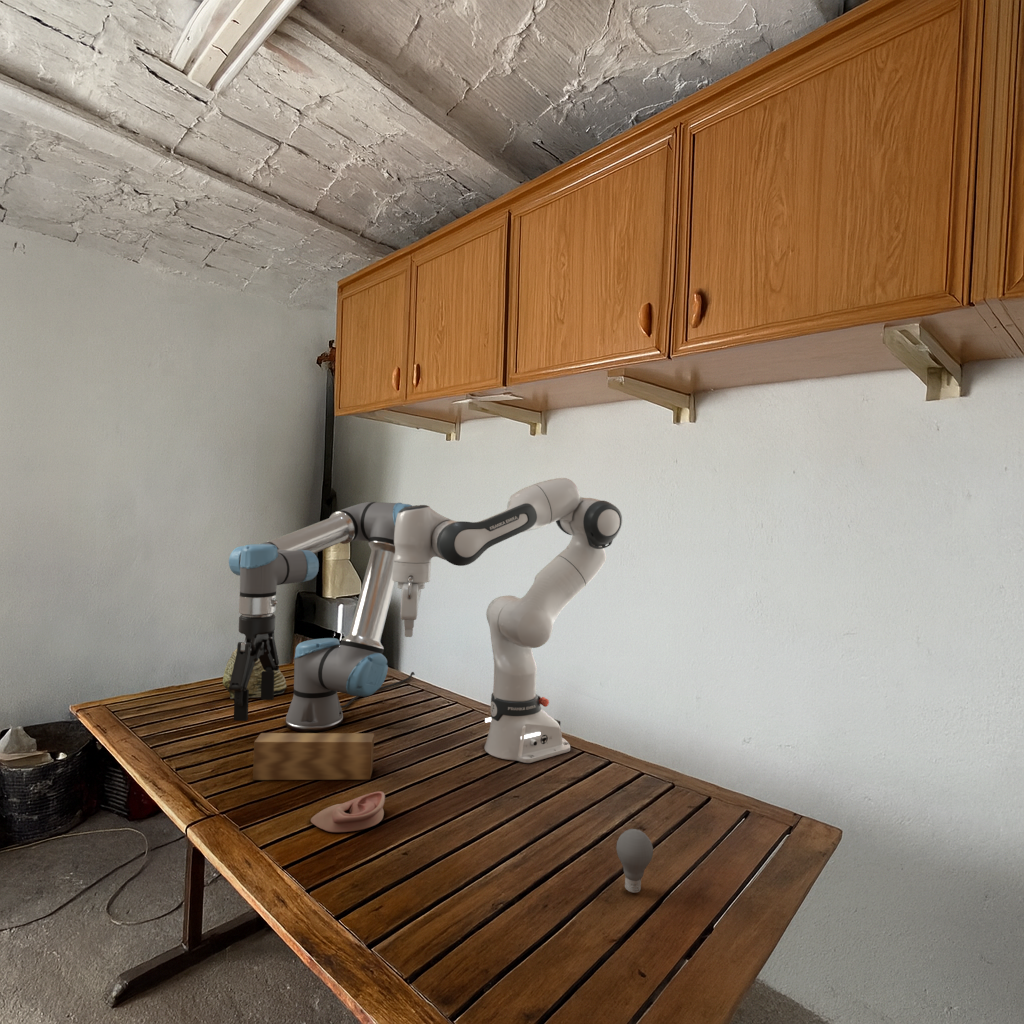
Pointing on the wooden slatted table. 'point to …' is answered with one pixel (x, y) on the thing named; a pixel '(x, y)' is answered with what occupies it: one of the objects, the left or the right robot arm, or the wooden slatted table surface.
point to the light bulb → (634, 857)
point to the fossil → (253, 678)
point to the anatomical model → (352, 814)
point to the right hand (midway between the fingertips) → (409, 632)
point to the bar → (313, 756)
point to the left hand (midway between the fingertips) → (254, 709)
